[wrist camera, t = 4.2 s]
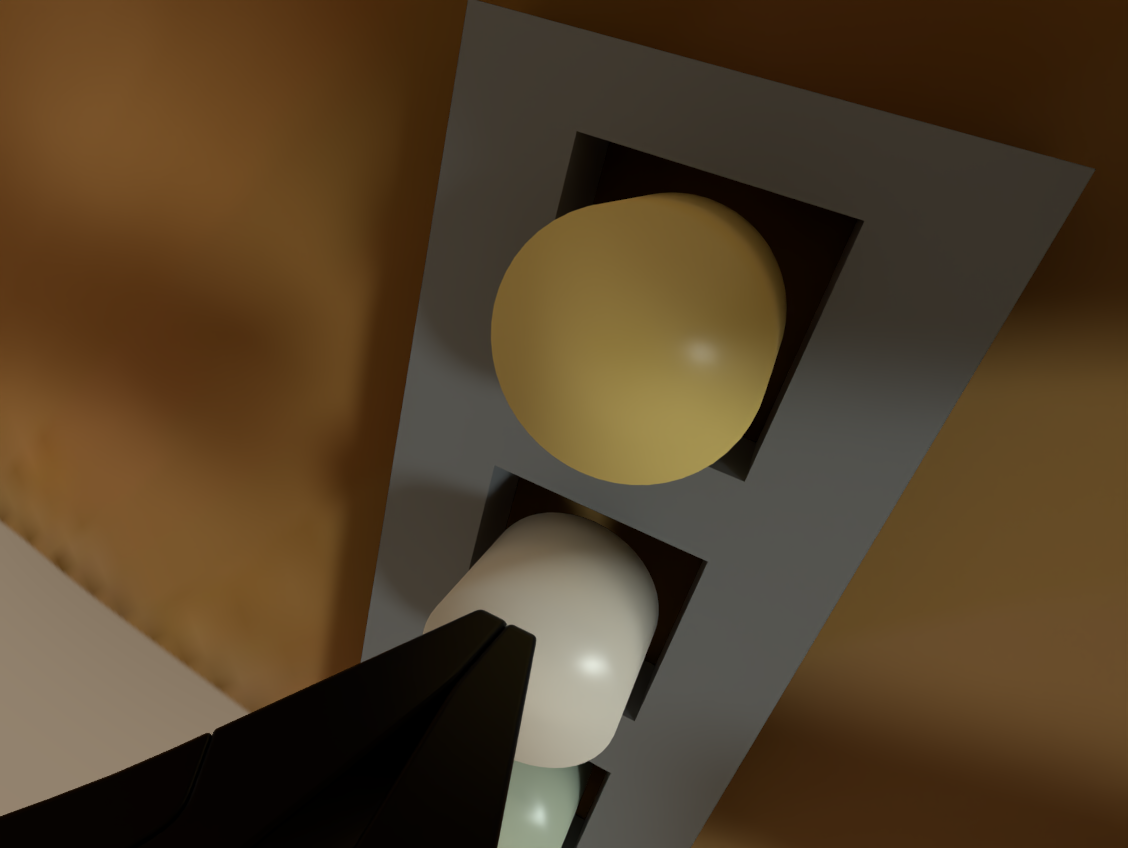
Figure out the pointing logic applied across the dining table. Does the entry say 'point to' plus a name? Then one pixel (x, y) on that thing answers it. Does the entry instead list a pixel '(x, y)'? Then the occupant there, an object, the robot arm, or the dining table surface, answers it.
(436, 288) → the button panel
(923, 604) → the dining table surface
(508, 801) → the sage button
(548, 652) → the cream button
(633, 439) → the mustard button
